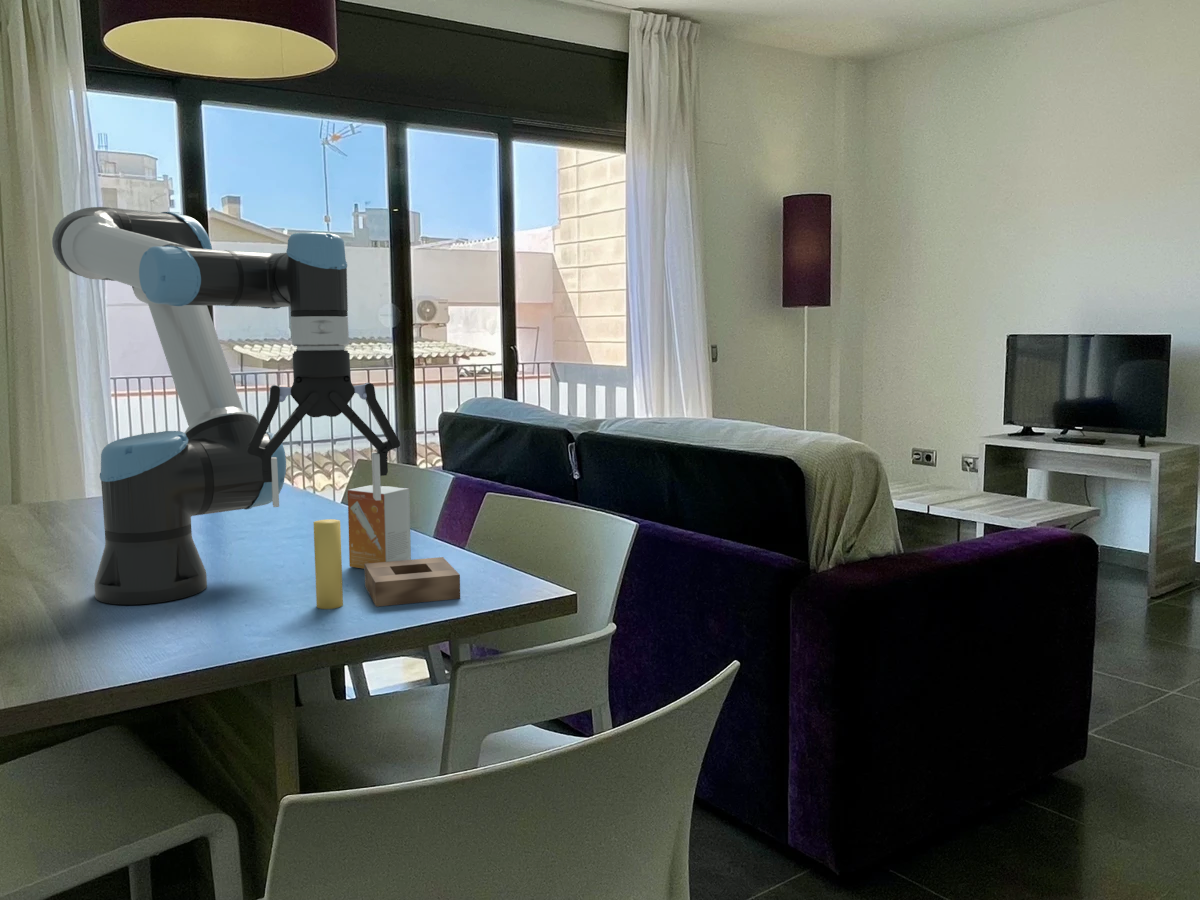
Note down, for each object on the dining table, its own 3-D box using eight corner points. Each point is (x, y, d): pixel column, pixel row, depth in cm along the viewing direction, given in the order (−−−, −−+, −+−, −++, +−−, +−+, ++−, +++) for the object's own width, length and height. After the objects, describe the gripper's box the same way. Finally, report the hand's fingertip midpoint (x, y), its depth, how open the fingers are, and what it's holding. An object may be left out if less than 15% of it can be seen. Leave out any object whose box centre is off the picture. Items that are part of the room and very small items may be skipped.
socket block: (376, 606, 136) (375, 582, 136) (365, 586, 148) (364, 563, 147) (460, 598, 141) (459, 574, 140) (443, 579, 152) (443, 557, 151)
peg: (317, 610, 135) (314, 525, 133) (315, 603, 138) (312, 520, 137) (344, 607, 136) (341, 523, 135) (341, 601, 139) (338, 518, 138)
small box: (348, 567, 159) (346, 489, 158) (375, 560, 165) (373, 484, 163) (386, 573, 155) (384, 493, 154) (412, 565, 161) (410, 487, 159)
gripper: (223, 350, 125) (231, 512, 127) (417, 347, 134) (422, 500, 136) (223, 349, 132) (231, 504, 134) (408, 347, 141) (412, 492, 143)
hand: (327, 502), depth 135 cm, fingers open, 13 cm apart
